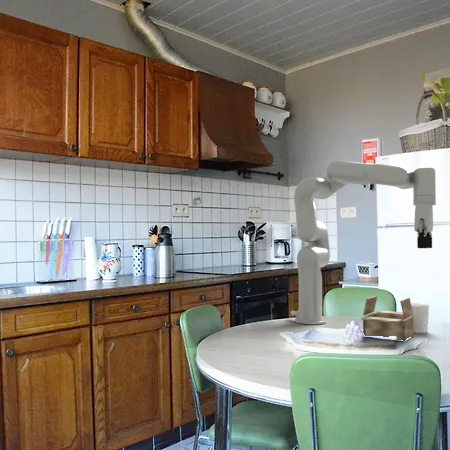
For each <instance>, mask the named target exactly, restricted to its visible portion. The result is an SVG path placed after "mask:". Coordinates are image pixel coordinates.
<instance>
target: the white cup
mask: <svg viewBox="0 0 450 450" xmlns="http://www.w3.org/2000/svg"><path fill="white" fill-rule="evenodd" d="M411 306H412V311H413V313H414V315H412V316H413V333H414V334H415V333H416V334H426V333H428V330H429V329H428V328H429V327H428V325H429V317H430V316H429V315H430V311H429V310H430V305H429V304H427V303H418V302H417V303H415V302H413V303H412V302H411Z"/></svg>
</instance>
